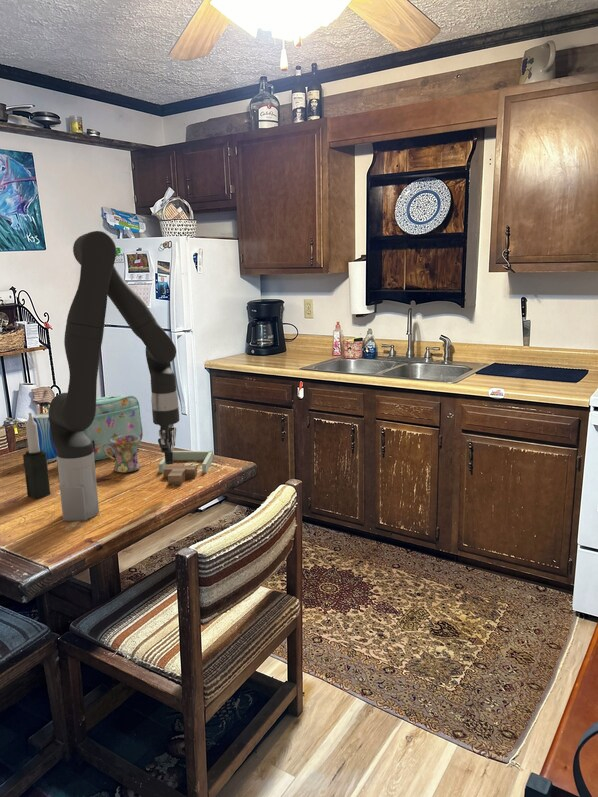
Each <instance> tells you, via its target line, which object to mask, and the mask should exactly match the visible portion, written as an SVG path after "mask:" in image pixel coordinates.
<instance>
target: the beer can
mask: <svg viewBox="0 0 598 797" xmlns="http://www.w3.org/2000/svg"><path fill="white" fill-rule="evenodd" d="M32 417H33V420H34V421H35V422H36V423H37V430H38V440H39V449H40V450H43V452H46V457H47V462H49V463H52V461H54V462H56V461H57V454H56V449H55V447H54V445H53V442H52V437H51V430H50V424H49V412H45V413H39V414H34V415H33V416H32ZM55 460H56V461H55Z"/></svg>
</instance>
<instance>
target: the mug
mask: <svg viewBox="0 0 598 797" xmlns="http://www.w3.org/2000/svg"><path fill="white" fill-rule="evenodd" d="M139 439H140V438H139V437H138V436H133V435H125V436H118V437H115V438H112V439H111V440H110V442H111V444H112V445H111V444H104V445H103V447H102V449H103V452H104V453H105V454H106V455H107V456H108V458H110V459H112V460H113V461H112V462H113V463H114V466H113V470H114V471H115V472H118V473H123V474H125V473H132V472H135V471H137V470H139V469H140V468H141V464H140V462H139V461H138V453H137V452H138V446H139V445H138V442H139ZM105 445H110V446H111V447H112V448H113V450H114V451H115V455H114V456H115V457H113V456H109V455H108V454H107V453H106V452H105V450H104V446H105Z"/></svg>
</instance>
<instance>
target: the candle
mask: <svg viewBox="0 0 598 797" xmlns="http://www.w3.org/2000/svg"><path fill="white" fill-rule="evenodd" d="M32 414H33V413H32V412H28V417H27V418H28V419H27V422H26V424H25V431H26V439H27V440H26V441H27V446H28V447H27V449H28V450H27V451H25V453H23V454H22V458H23V460H22V461H23V467H24V476H25V485H26V492H27V497H28V498H31V499H36V500H38V499H42V498H44V497H46V496H49V495H51V486H50V477H49V470H48V469H49V468H48V463H47V457H46V452H43V450H40V449H39V440H38V430H37V423H36V422H35V421H34V420H33V416H32Z"/></svg>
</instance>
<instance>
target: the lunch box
mask: <svg viewBox="0 0 598 797" xmlns="http://www.w3.org/2000/svg"><path fill="white" fill-rule="evenodd" d="M85 431H86V434H87V435H88V437H89V438H90V439H91V441H92V443H93V449H94V461H100V460H101V461H102V460H104V459H107V458H109V457H108V456H107V455H106V454H105V453H104V452H103V449H102V447H103V445H104V444H111V442H110V440H111V439H112V438H115V437H118V436H125V435H133V436H138V437H139V438H140V439H139V442H138V446H139V445H140V444H141V442H142V440H143V435H144V434H143V433H144V432H143V426H142V419H141V410H140V403H139V400H138V399H137V397H136V396H134V395H121V394H115V395H108V396H102V397H96V413H95V417H94V420H93V422H92V424H91V425H90V426H89V427H88V428H87V429H86V430H85ZM111 445H112V444H111ZM104 450H105V452H106V453H107V454H108V455H109V456H111V457H113V456H115V451H114V450H113V448H112V447H111V446H110V445H105V446H104Z"/></svg>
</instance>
